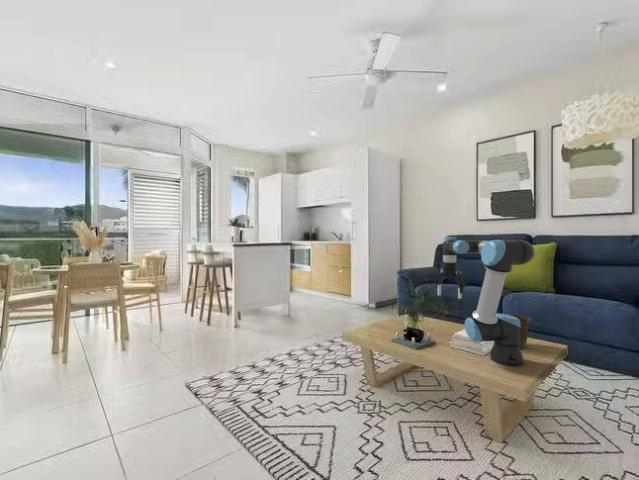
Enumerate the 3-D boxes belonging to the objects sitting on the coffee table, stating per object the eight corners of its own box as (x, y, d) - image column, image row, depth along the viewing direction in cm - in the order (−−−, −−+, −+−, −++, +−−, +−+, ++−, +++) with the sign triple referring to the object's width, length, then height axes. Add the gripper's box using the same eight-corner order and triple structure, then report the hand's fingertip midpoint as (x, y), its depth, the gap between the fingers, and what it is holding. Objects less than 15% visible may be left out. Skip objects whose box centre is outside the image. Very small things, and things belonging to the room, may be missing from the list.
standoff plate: (435, 343, 196) (435, 334, 196) (416, 349, 185) (416, 339, 185) (410, 335, 211) (410, 326, 210) (391, 341, 200) (391, 332, 200)
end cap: (424, 340, 196) (424, 329, 196) (417, 343, 192) (417, 331, 192) (409, 336, 204) (409, 325, 204) (402, 339, 199) (403, 327, 199)
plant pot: (523, 352, 182) (524, 323, 181) (493, 344, 194) (493, 317, 194) (534, 346, 192) (535, 318, 191) (504, 338, 204) (505, 312, 204)
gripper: (472, 263, 195) (472, 299, 195) (434, 260, 215) (434, 293, 215) (466, 263, 190) (465, 300, 191) (428, 261, 210) (427, 294, 210)
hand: (449, 296), depth 203 cm, fingers open, 13 cm apart
